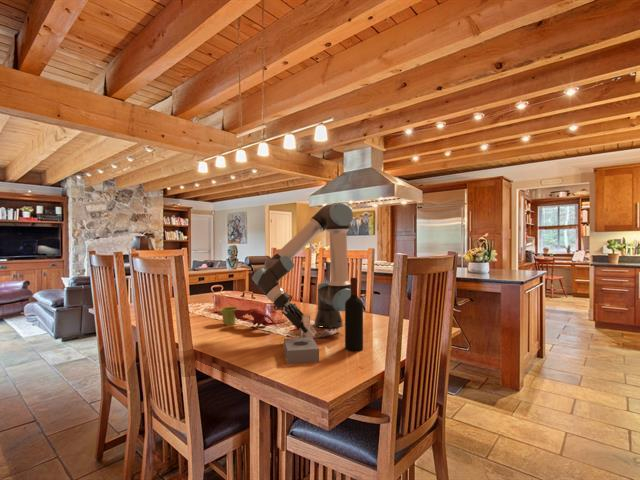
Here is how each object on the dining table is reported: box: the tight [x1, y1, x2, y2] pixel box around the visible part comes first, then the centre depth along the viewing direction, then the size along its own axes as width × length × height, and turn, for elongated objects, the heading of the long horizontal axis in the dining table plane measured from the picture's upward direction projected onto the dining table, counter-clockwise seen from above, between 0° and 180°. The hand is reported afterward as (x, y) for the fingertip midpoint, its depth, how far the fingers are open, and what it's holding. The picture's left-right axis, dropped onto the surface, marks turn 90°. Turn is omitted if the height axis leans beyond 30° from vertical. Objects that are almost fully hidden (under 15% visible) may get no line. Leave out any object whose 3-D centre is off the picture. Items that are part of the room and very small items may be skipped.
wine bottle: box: [344, 277, 364, 353], centre depth 147 cm, size 8×8×30 cm
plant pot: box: [219, 306, 239, 326], centre depth 190 cm, size 9×9×9 cm
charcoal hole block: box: [283, 337, 320, 365], centre depth 138 cm, size 12×16×5 cm
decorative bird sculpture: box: [234, 308, 277, 330], centre depth 181 cm, size 28×9×15 cm
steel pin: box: [300, 314, 311, 338], centre depth 155 cm, size 4×4×12 cm
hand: (313, 335), depth 154 cm, fingers closed on steel pin, 4 cm apart
